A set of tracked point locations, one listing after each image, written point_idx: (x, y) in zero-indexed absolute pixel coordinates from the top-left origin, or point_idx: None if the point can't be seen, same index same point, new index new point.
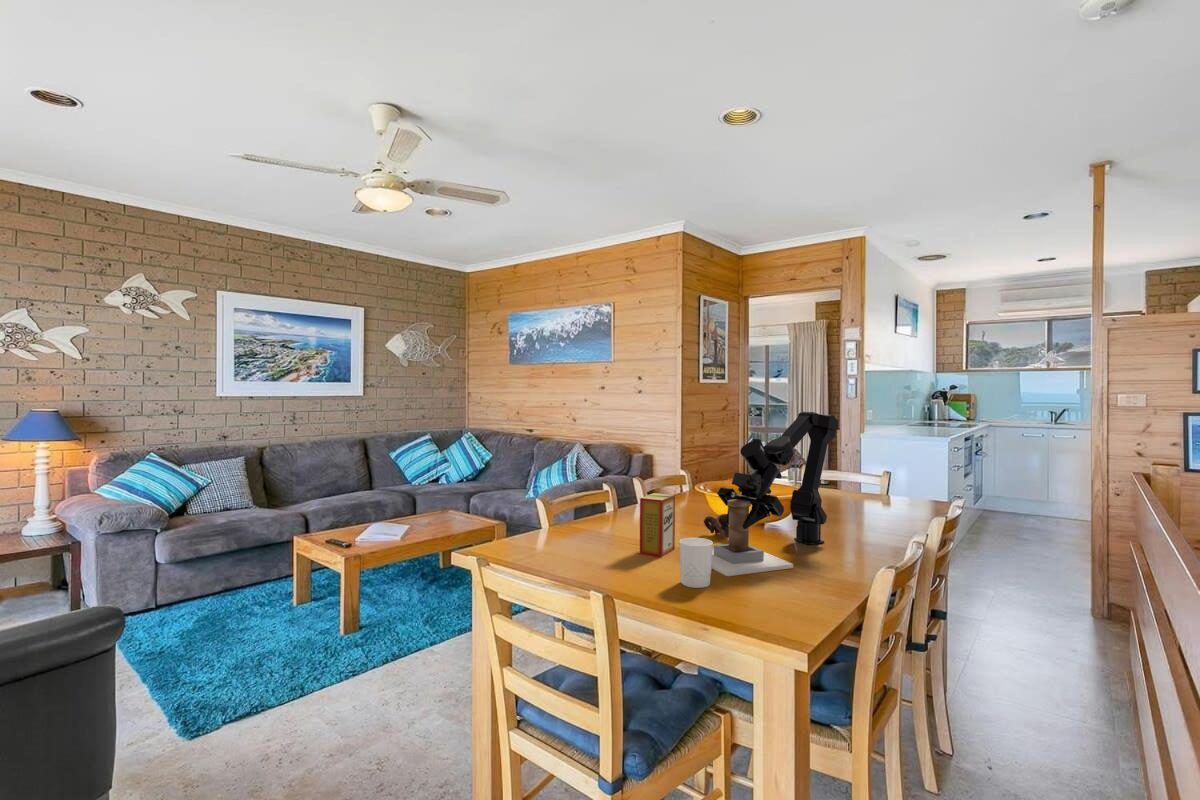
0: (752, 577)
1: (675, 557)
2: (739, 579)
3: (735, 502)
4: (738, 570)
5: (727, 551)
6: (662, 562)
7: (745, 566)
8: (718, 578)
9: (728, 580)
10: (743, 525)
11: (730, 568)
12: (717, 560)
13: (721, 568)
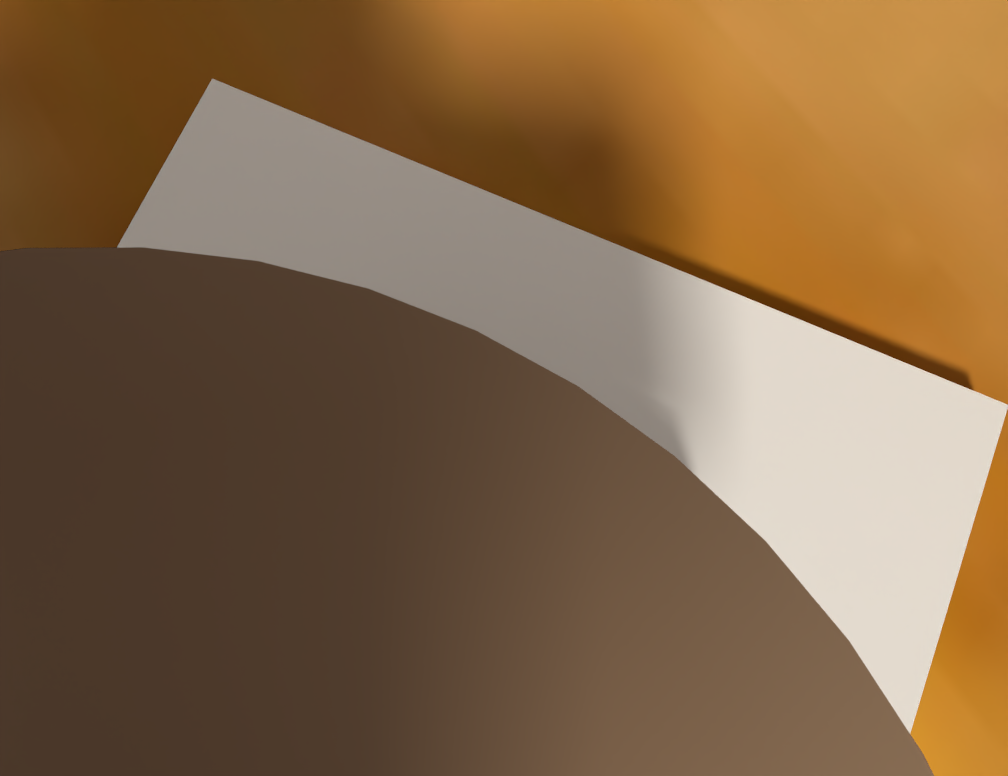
0: (17, 247)
1: (990, 255)
2: (89, 110)
3: (30, 597)
4: (151, 205)
5: None
6: (940, 32)
7: None
8: (256, 5)
9: (155, 19)
10: None
11: (254, 208)
12: (525, 355)
13: (323, 142)
